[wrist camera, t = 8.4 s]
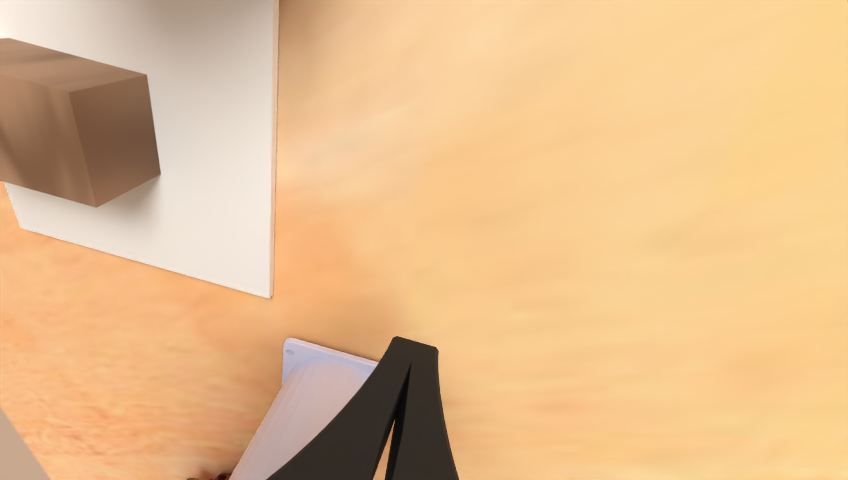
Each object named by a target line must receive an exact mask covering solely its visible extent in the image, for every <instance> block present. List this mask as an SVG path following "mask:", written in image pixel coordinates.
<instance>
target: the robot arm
mask: <svg viewBox="0 0 848 480" xmlns="http://www.w3.org/2000/svg"><path fill="white" fill-rule="evenodd" d="M438 352H439V351H438V350H437V348H436V347H433V346H430V345H426V344H423V343H419V342H416V341H412V340H409V339H405V338H402V337H398V336H396V337H394V338H393V339H392V341H391V343H390V345H389V347H388V349H387V351H386V352H385V354H384V356H383V357H382V359H381V360H380V362H376V361H372V360H369V359H365V358H362V357H358V356H355V355H351V354H348V353H345V352H341V351H338V350H334V349H331V348H327V347H324V346H320V345H317V344H313V343H310V342H306V341H303V340H299V339H296V338H291V337H290V338H287V339H286V340H285V342H284V344H283V364H282V387H281V389H280V391H279V393H278V394H277V396H276V398H275V399H274V401H273V403H272V405H271V406H270V408H269V410H268V412H267V413H266V415H265V417H264V419H263V420H262V422H261V424H260V426H259V427H258V429H257V431H256V433H255V434H254V436H253V438H252V440H251V441H250V443H249V445H248V447H247V448H246V450H245V452H244V454H243V455H242V457H241V459H240V461H239V462H238V464H237V466H236V468H235V469H234V471H233V473H232V475H231V476H230V478H229V480H373V478H374V475H375V472H376V469H377V467H378V464H379V461H380V458H381V456H382V453H383V450H384V447H385V445H386V442H387V439H388V436H389V434H390V431H391V428H392V425H393V423H394V420H395V423H394V428H393V434H392V440H391V446H390V452H389V457H388V463H387V469H386V475H385V480H459V478H458V474H457V471H456V467H455V464H454V460H453V456H452V452H451V448H450V444H449V439H448V435H447V430H446V425H445V420H444V414H443V408H442V401H441V394H440V386H439V374H438Z"/></svg>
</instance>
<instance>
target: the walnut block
mask: <svg viewBox="0 0 848 480" xmlns="http://www.w3.org/2000/svg"><path fill="white" fill-rule="evenodd" d="M160 174H161V171H160V163H159V156H158V149H157V142H156V135H155V128H154V121H153V114H152V107H151V100H150V93H149V85H148V78H147V75H146V74H142V73H139V72H135V71H131V70H127V69H124V68H120V67H116V66H112V65H109V64H105V63H101V62H97V61H94V60H90V59H86V58H82V57H79V56H75V55H71V54H68V53H64V52H60V51H56V50H53V49H49V48H45V47H41V46H38V45H34V44H30V43H26V42H23V41H19V40H15V39H11V38H8V37H4V36H0V181H3V182H7V183H10V184H14V185H17V186H21V187H24V188H28V189H31V190H35V191H39V192H42V193H46V194H49V195H53V196H56V197H60V198H64V199H67V200H71V201H74V202H78V203H81V204H85V205H88V206H92V207H96V208H97V207H99V206H101V205H103V204H105V203H107V202H109V201H110V200H112V199H114V198H116V197H118V196H120V195H122V194H124V193H126V192H128V191H130V190H132V189H133V188H135V187H137V186H139V185H141V184H143V183H145V182H147V181H149V180H151V179H153V178H155V177H157V176H158V175H160Z"/></svg>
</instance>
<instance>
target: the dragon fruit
mask: <svg viewBox="0 0 848 480" xmlns="http://www.w3.org/2000/svg"><path fill="white" fill-rule="evenodd" d="M229 478H230V475H225V474H220V475H219V476H218V477H217V478H215V479H214V480H229ZM187 480H198V479H196V478H189V479H187ZM210 480H213V479H210Z"/></svg>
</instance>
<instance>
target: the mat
mask: <svg viewBox="0 0 848 480" xmlns="http://www.w3.org/2000/svg"><path fill="white" fill-rule="evenodd" d="M0 36H4V37H8V38H11V39H15V40H19V41H23V42H26V43H30V44H34V45H38V46H41V47H45V48H49V49H53V50H56V51H60V52H64V53H68V54H71V55H75V56H79V57H82V58H86V59H90V60H94V61H97V62H101V63H105V64H109V65H112V66H116V67H120V68H124V69H127V70H131V71H135V72H139V73H142V74H146V75H147V78H148V85H149V93H150V100H151V107H152V114H153V121H154V128H155V135H156V142H157V149H158V156H159V163H160V171H161V174H160V175H158V176H157V177H155V178H153V179H151V180H149V181H147V182H145V183H143V184H141V185H139V186H137V187H135V188H133V189H132V190H130V191H128V192H126V193H124V194H122V195H120V196H118V197H116V198H114V199H112V200H110V201H109V202H107V203H105V204H103V205H101V206H99V207H97V208H96V207H92V206H88V205H85V204H81V203H78V202H74V201H71V200H67V199H64V198H60V197H56V196H53V195H49V194H46V193H42V192H39V191H35V190H31V189H28V188H24V187H21V186H17V185H14V184H10V183H7V182H4V184H5V187H6V190H7V192H8V195H9V198H10V201H11V203H12V206H13V209H14V211H15V214H16V217H17V220H18V222H19V225H20V228H22V229H26V230H29V231H33V232H36V233H40V234H43V235H47V236H50V237H54V238H57V239H61V240H64V241H68V242H71V243H75V244H78V245H82V246H85V247H89V248H92V249H96V250H99V251H103V252H107V253H110V254H114V255H117V256H121V257H124V258H128V259H131V260H135V261H138V262H142V263H145V264H149V265H152V266H156V267H159V268H163V269H166V270H170V271H173V272H177V273H180V274H184V275H187V276H191V277H194V278H198V279H201V280H205V281H208V282H212V283H215V284H219V285H223V286H226V287H230V288H233V289H237V290H240V291H244V292H247V293H251V294H254V295H258V296H261V297H265V298H268V299H270V297H271V296H272V295H273V287H274V238H275V189H276V139H277V90H278V41H279V0H0Z"/></svg>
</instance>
